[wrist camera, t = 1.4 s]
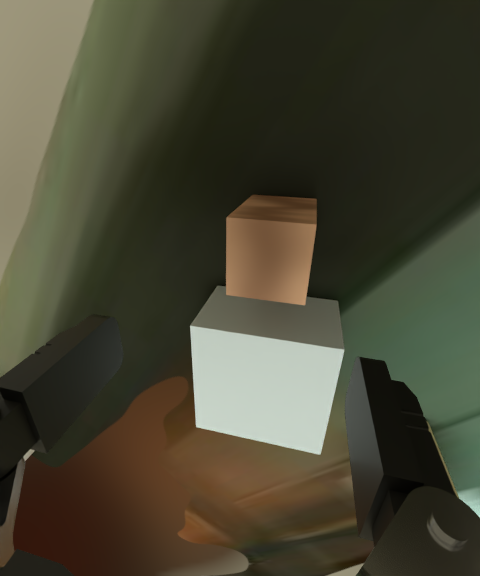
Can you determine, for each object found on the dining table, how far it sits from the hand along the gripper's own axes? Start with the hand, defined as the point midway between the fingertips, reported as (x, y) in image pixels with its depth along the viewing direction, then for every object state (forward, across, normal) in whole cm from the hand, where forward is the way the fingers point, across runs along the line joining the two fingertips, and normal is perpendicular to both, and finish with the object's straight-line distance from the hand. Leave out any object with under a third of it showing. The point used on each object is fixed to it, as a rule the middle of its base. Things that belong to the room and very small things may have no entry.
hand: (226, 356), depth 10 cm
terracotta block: (+17, 0, 0) cm, 17 cm away
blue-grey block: (+17, 0, +12) cm, 20 cm away
